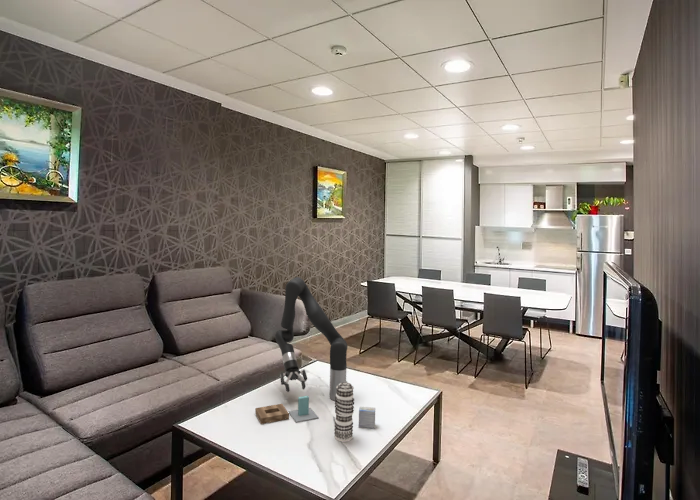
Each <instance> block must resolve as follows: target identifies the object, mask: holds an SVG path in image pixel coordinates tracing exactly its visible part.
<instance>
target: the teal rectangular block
mask: <svg viewBox="0 0 700 500" xmlns="http://www.w3.org/2000/svg"><path fill="white" fill-rule="evenodd" d="M309 404H310V397H309V395H305V396H298V398H297V410H298V415H299V416H302V415H307V414H309V408H310V407H309Z"/></svg>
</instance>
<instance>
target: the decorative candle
mask: <svg viewBox="0 0 700 500" xmlns="http://www.w3.org/2000/svg"><path fill="white" fill-rule="evenodd" d="M336 388H337V393H336V396H335V401H334V402H335V403H334V409H335V410H334V412H335V421H334V430H333V431H334V433H333V434H334V439H335V440H336V441H338V442H343V443H344V442H349V441H351V440H352V439H353V434H354V433H353V431H354V429H353V427H354V426H353V425H354V422H353V421H354V419H353V414H354V411H355V410H354V409H355V407H354V405H355V398H354V393H353V392H354V389H355V387H354V385H352V384H351V383H350V382H348V381H347V382H342V383H340V384H339V385H338V386H337V387H336ZM336 399H337V400H336Z"/></svg>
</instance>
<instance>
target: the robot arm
mask: <svg viewBox="0 0 700 500" xmlns="http://www.w3.org/2000/svg"><path fill="white" fill-rule="evenodd" d="M284 291H285V292H284V293H285V294H284V295H285V296H284V306H283V313H282V317H281V321H280V322H281V323H280V326H281V328H282V329H283V330H277V331H276V332H275V334H274V339H275V342H276V344H277V345H278V347H279V348H280V352H281V356H282V364H283V368H284V372H281V373H280V374H279V377H280V384H281V385H282V386H285V391H286V392H287V393H289V392H290V391H291V390H290V384H289V383H290V382H289V381H296V380H297V381H299V382H300V383H301V387H302V390H305V389H306V383H305V382H307V380H308V377H307V376H308V375H307V373H306V370H305V369H302V370H300V369H299V365H298V360H297V356H296V354H295V349H294V346H293V344H291V342H292V341H293V340H294V322H295V318H296V302H297V299H298V297H299V298H300V300H301V302H302V304H303V306H304V310H305V313H306V314H305V315H306V316H307V318H308V320H309V321H310V322H311V324H312V325H313V326H314V328H316V330H317V331H318V332H319V333H321V334H322V335H323V336H324V337H325V338H326V340H327V341H328V343H329V344H330V347H329V369H330V370H329V396H328V397H329V400H331V401H334V402H335V396H336V393H337V388H336V387H337V386H338V385H339V384H340V383H342V382H347V383H348V381H347V366H348V364H347V354H348V353H347V351H348V342H347V341H346V340H345V338H344V337H343V336H342V335H341V334H340V333H339V331H338V330H337V329H336V327H335V326H334V324H333V323H332V321H331V320H330V319H329V316H328V315H327V314H326V312H325V311H324V310H323V308H322V307H321V306H320V304H319V302H317V300H316V299H315V296H314V295H313V294H312V293H311V291H310V289H309V287H308V285H307V284H306V282H305V281H304V279H302V278H301V277H299V276H298V277H293V278H292V279H290V280H289V281H288V282H286V285H285V290H284ZM285 377H286V378H287V379H286V380H285ZM336 400H337V399H336Z"/></svg>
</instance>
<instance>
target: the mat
mask: <svg viewBox="0 0 700 500" xmlns="http://www.w3.org/2000/svg"><path fill="white" fill-rule="evenodd" d="M287 411H288V410H287ZM288 412H289V416H291V418H292V420H293V421H294V422H295V424H297V423H302V422H308V421H314V420H319V416H318V415H317V414H316V413H315V411H314V410H313V409H312V408H311V407H309V414H307V415H302V416H299V415H298V409H294V410H289V411H288Z"/></svg>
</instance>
